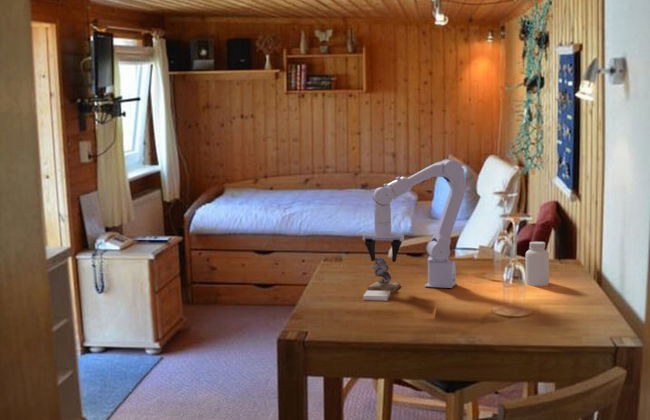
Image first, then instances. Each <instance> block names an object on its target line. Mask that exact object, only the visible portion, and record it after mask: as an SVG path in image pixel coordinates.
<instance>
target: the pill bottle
mask: <svg viewBox="0 0 650 420" xmlns="http://www.w3.org/2000/svg"><path fill="white" fill-rule="evenodd" d="M526 281H527V284H526V285H528V286H531V287H547V286H549V284H550V253H549V251H547V250H546V242H545V241H530V242H529V249H528V250H527V251H526V252H525V282H526Z"/></svg>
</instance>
